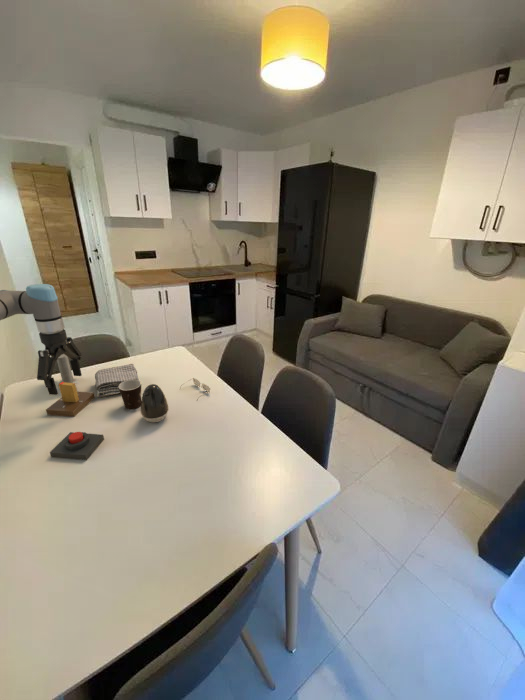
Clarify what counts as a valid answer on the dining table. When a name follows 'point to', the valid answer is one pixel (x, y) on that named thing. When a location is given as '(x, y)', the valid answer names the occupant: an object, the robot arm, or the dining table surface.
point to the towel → (113, 379)
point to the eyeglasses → (199, 385)
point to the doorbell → (77, 447)
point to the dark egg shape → (154, 404)
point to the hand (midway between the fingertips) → (66, 384)
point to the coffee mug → (131, 393)
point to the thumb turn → (68, 392)
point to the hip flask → (65, 368)
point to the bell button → (76, 437)
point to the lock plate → (70, 405)
